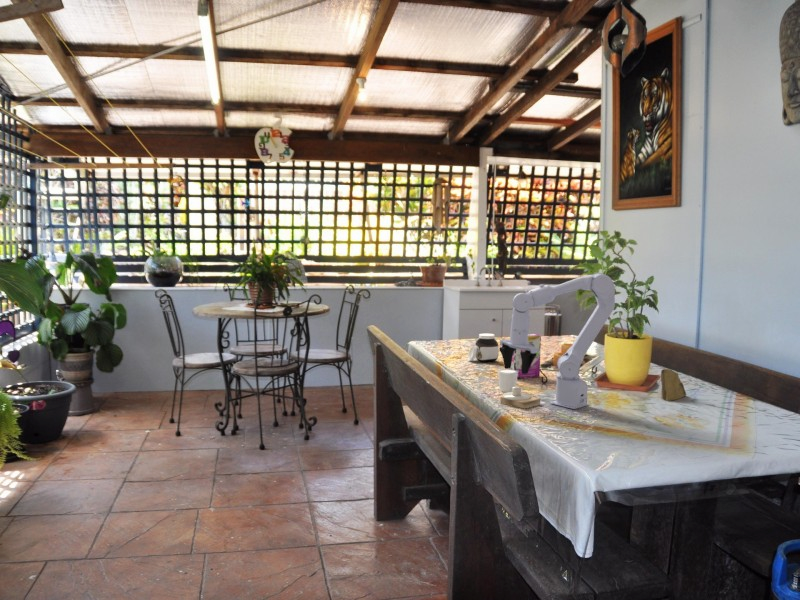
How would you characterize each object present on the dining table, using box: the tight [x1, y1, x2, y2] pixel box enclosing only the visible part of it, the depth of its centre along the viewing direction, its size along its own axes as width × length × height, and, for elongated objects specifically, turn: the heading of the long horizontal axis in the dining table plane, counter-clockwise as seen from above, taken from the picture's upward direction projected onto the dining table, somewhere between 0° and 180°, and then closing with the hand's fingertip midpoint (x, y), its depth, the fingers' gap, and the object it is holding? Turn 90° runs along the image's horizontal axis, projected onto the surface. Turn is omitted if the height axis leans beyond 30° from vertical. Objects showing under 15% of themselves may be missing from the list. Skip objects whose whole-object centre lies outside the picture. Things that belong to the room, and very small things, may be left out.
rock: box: [660, 368, 687, 402], centre depth 222 cm, size 11×9×10 cm
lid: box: [502, 385, 532, 400], centre depth 216 cm, size 9×9×3 cm
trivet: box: [499, 395, 541, 410], centre depth 215 cm, size 10×8×2 cm
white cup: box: [497, 369, 518, 393], centre depth 233 cm, size 7×7×7 cm
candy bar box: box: [508, 333, 542, 379], centre depth 254 cm, size 11×5×16 cm, turn 108°
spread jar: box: [467, 333, 500, 363], centre depth 286 cm, size 12×11×12 cm
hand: (516, 370), depth 216 cm, fingers open, 7 cm apart
